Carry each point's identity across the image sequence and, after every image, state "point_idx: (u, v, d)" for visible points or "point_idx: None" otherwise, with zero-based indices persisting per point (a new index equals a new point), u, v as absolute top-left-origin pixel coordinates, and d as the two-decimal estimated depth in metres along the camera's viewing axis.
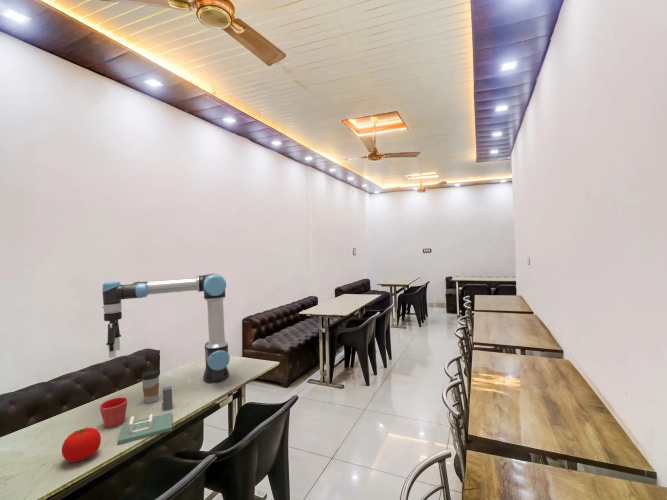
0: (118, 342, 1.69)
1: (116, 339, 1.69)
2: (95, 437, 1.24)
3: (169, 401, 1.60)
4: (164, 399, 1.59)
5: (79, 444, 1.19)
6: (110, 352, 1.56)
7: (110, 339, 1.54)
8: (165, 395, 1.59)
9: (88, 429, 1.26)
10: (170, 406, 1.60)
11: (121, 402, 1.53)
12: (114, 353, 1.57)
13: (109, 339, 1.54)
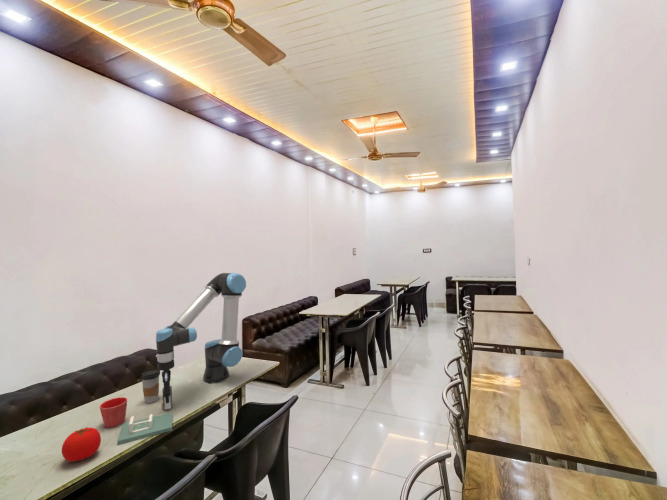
0: None
1: None
2: (95, 437, 1.24)
3: None
4: None
5: (79, 445, 1.19)
6: (166, 404, 1.58)
7: (166, 392, 1.56)
8: None
9: (88, 429, 1.26)
10: None
11: (121, 402, 1.53)
12: (169, 404, 1.59)
13: (165, 392, 1.56)
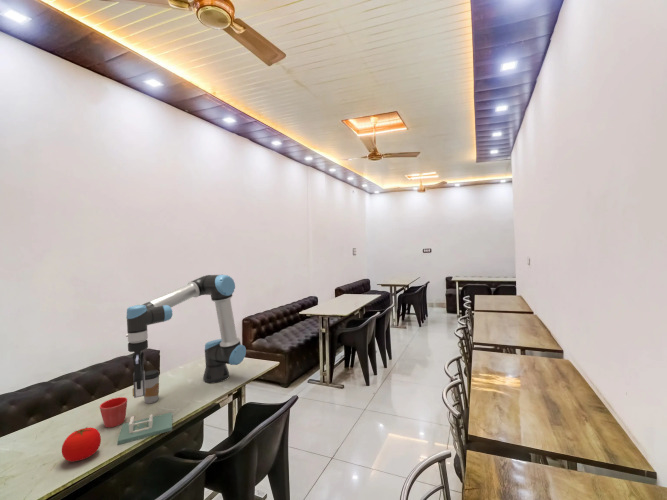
0: None
1: None
2: (95, 437, 1.24)
3: None
4: None
5: (79, 444, 1.19)
6: (137, 390, 1.39)
7: (137, 377, 1.36)
8: None
9: (88, 429, 1.26)
10: None
11: (121, 402, 1.53)
12: (141, 391, 1.40)
13: (136, 377, 1.36)
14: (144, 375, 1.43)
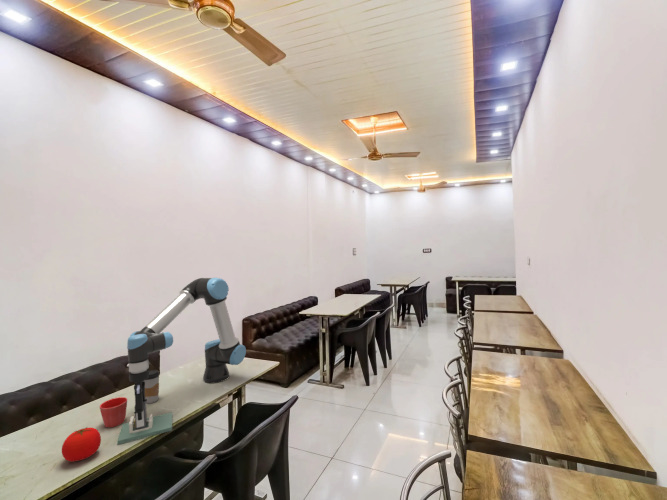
0: None
1: None
2: (95, 437, 1.24)
3: None
4: None
5: (79, 444, 1.19)
6: (138, 421, 1.37)
7: (138, 407, 1.35)
8: None
9: (88, 429, 1.26)
10: (144, 424, 1.40)
11: (121, 402, 1.53)
12: (142, 421, 1.38)
13: (137, 407, 1.35)
14: (145, 406, 1.43)
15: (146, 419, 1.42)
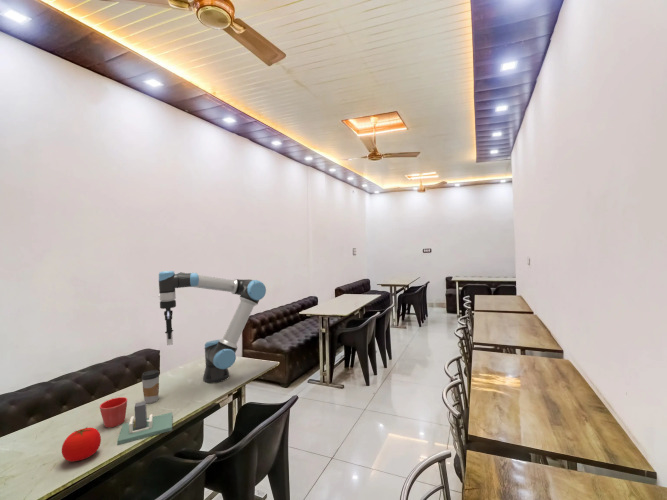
0: None
1: None
2: (95, 437, 1.24)
3: (143, 419, 1.40)
4: (136, 417, 1.39)
5: (79, 445, 1.19)
6: (168, 340, 1.69)
7: (168, 329, 1.66)
8: (137, 412, 1.39)
9: (88, 429, 1.26)
10: (144, 424, 1.40)
11: (121, 402, 1.53)
12: (171, 341, 1.70)
13: (168, 329, 1.66)
14: (145, 406, 1.43)
15: (146, 419, 1.42)
